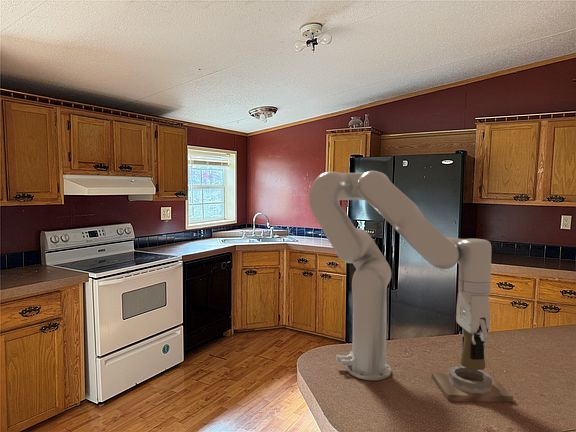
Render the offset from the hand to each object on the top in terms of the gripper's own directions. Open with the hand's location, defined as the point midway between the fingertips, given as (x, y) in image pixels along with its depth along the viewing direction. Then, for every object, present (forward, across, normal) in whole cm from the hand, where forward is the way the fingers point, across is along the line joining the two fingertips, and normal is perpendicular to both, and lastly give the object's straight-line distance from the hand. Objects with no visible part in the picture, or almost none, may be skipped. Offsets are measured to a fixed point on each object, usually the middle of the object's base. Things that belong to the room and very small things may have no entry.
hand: (472, 354), depth 103 cm
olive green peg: (+3, 0, 0) cm, 3 cm away
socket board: (+9, 0, 0) cm, 10 cm away
